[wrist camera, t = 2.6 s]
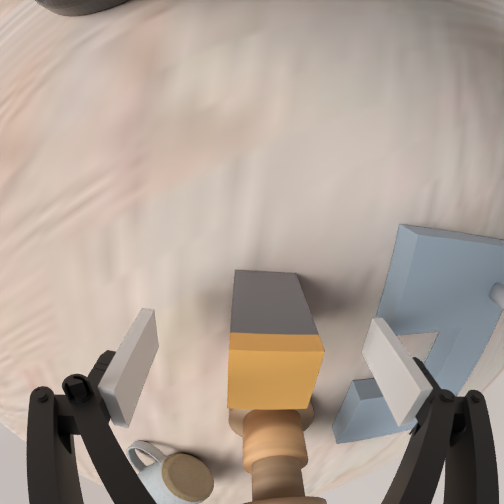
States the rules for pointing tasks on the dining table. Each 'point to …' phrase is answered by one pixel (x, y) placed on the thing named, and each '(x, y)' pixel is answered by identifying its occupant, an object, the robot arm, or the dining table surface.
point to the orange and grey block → (271, 343)
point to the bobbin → (275, 453)
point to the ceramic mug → (172, 476)
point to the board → (431, 316)
